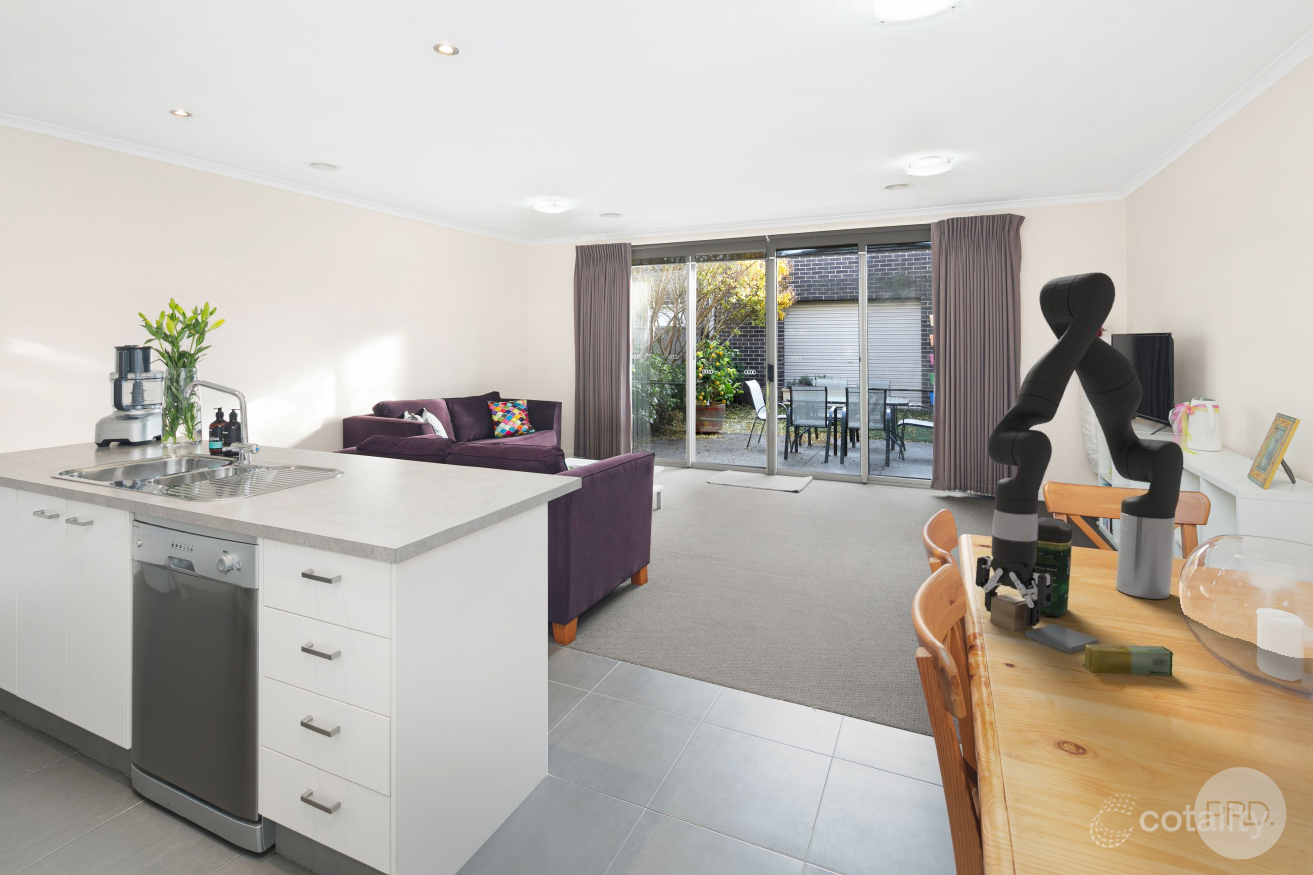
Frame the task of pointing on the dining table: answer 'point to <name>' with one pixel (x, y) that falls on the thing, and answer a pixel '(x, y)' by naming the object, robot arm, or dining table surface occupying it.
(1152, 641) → the dining table surface
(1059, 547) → the coffee jar
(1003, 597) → the cube
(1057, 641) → the pad
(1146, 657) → the medication box
